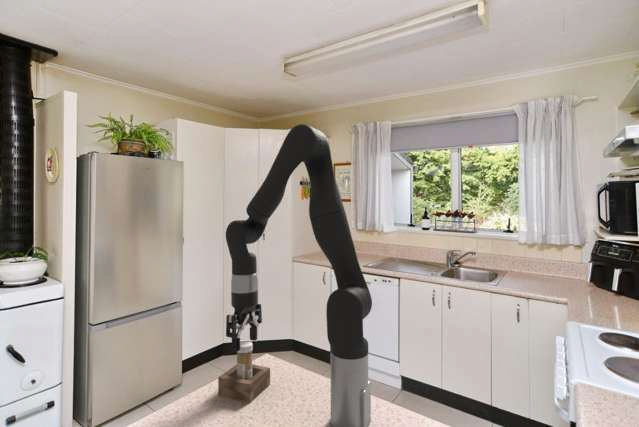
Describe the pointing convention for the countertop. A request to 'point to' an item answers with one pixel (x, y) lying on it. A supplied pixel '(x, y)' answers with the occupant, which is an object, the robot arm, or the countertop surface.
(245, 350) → the sprinkles bottle
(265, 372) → the frame
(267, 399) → the countertop surface
